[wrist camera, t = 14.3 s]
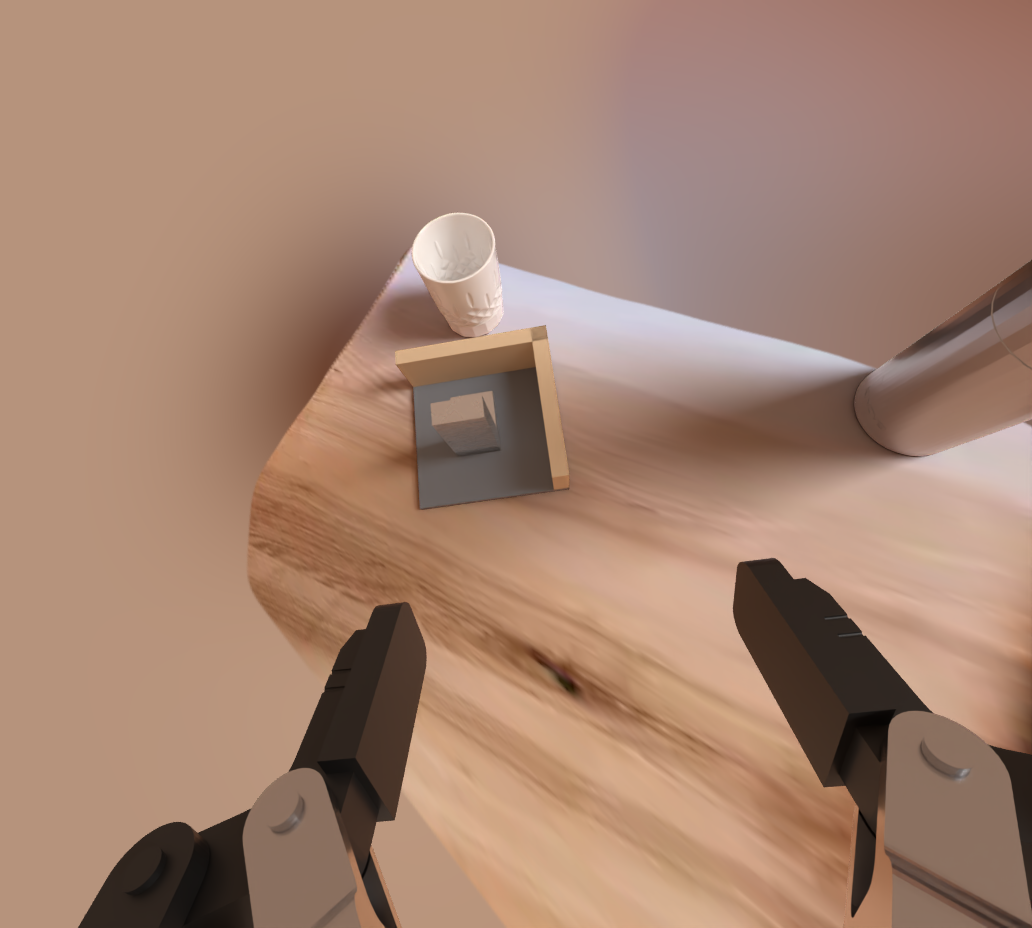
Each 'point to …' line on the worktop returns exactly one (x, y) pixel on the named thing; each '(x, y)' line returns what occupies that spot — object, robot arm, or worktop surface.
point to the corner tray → (520, 415)
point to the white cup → (461, 272)
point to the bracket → (468, 423)
